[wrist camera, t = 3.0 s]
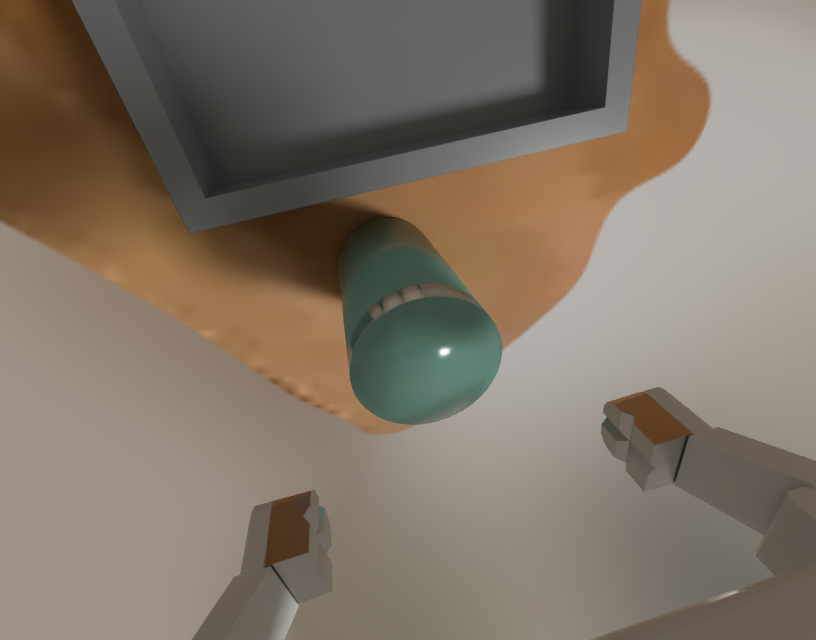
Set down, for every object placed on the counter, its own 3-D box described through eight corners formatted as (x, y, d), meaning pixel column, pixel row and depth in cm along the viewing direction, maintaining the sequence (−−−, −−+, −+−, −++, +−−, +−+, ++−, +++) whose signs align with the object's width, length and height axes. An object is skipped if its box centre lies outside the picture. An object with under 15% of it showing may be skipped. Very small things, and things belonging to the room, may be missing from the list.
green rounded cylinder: (325, 230, 20) (329, 321, 12) (424, 206, 21) (497, 277, 12) (351, 317, 23) (370, 440, 15) (438, 294, 24) (505, 401, 15)
